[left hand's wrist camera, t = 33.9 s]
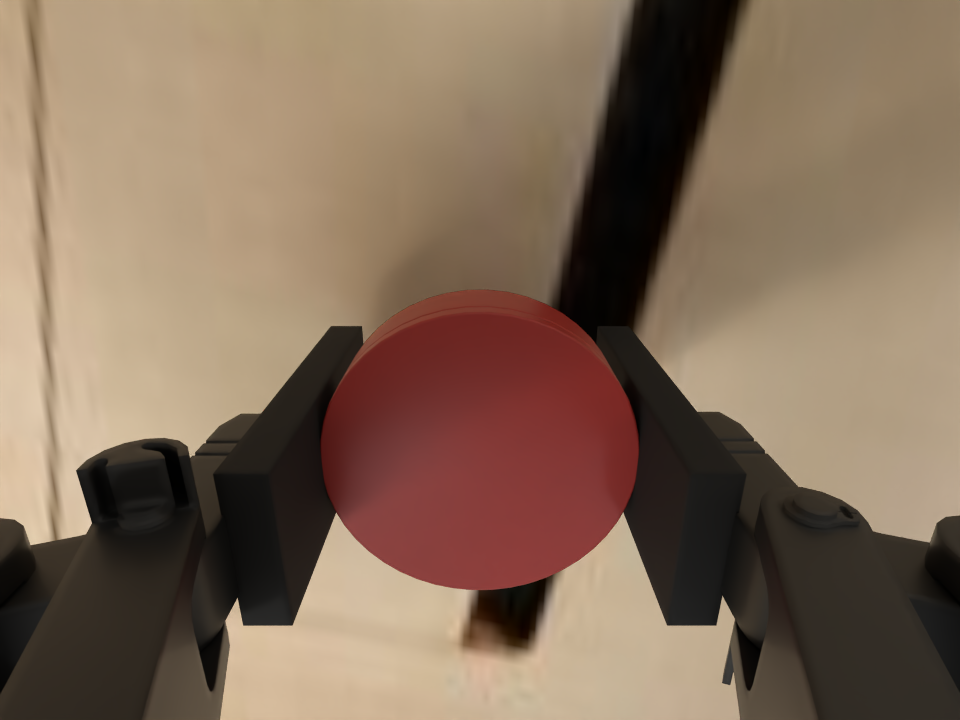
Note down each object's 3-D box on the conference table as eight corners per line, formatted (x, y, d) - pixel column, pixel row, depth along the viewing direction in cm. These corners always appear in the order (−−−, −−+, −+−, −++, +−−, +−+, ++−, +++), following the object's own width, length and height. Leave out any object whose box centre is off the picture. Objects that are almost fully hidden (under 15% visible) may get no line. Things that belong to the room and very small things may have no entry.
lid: (679, 411, 12) (707, 450, 10) (494, 581, 13) (495, 635, 12) (461, 224, 10) (458, 238, 9) (283, 439, 12) (257, 481, 10)
